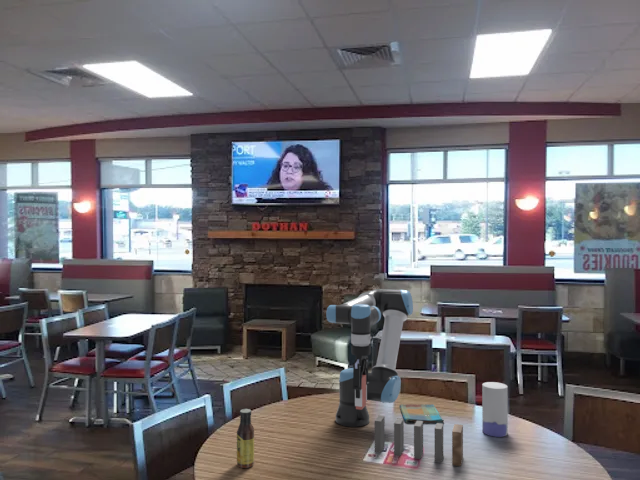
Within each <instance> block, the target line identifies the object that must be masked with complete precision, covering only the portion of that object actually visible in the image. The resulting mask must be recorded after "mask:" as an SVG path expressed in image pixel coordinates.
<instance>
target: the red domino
mask: <svg viewBox="0 0 640 480" xmlns="http://www.w3.org/2000/svg"><path fill="white" fill-rule="evenodd" d="M361 389H362V407H359V406H356V409H360V410H362V409H363V408H364V407H365V406H366V407H367V402H366V375H362V386H361Z"/></svg>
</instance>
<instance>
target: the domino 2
mask: <svg viewBox="0 0 640 480" xmlns="http://www.w3.org/2000/svg"><path fill="white" fill-rule="evenodd" d="M404 422H405V420H404V418H403V417H402V418H399V417H397V418H396V419H395V421H394V423H393V455H394V456H399V457H401V456H402V454H403V452H404V449H405V448H404V447H405V445H404V442H405V441H404V436H405V435H404V433H405V430H404V429H405V428H404V426H405V425H404V424H405V423H404Z"/></svg>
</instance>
